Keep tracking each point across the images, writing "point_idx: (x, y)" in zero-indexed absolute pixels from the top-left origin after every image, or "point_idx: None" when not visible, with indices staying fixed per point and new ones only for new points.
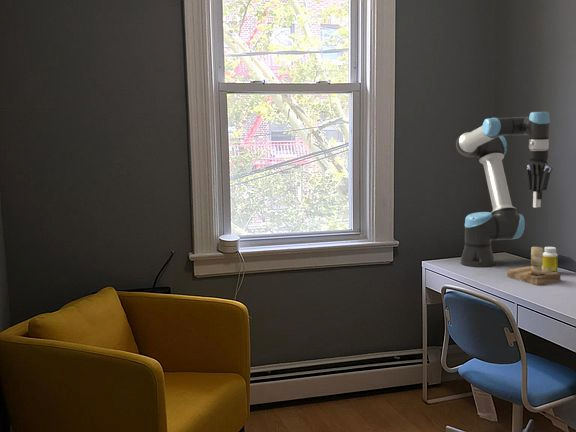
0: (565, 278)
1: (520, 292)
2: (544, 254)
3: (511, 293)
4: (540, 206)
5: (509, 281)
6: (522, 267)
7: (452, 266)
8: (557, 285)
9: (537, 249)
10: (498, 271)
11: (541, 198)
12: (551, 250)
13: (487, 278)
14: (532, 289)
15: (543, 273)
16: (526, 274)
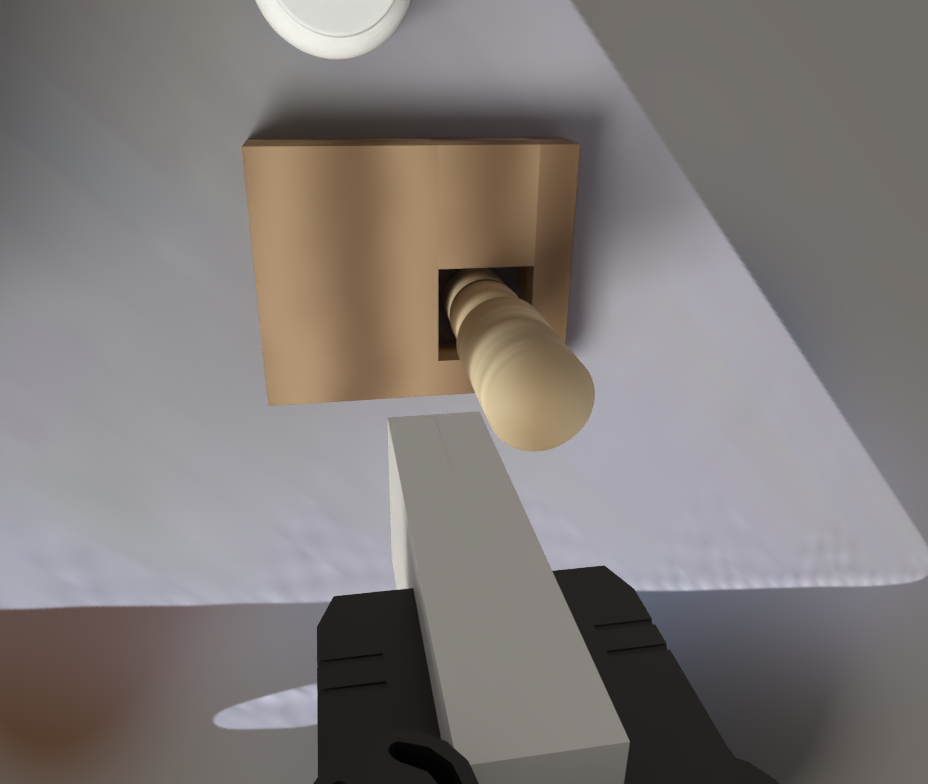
0: (534, 31)
1: (593, 538)
2: (327, 53)
3: None
4: (483, 420)
5: (380, 445)
6: (257, 246)
7: None
8: (624, 252)
9: (575, 431)
10: (90, 326)
11: (623, 592)
12: (390, 8)
13: (244, 515)
14: (592, 447)
15: (498, 252)
16: (451, 379)
